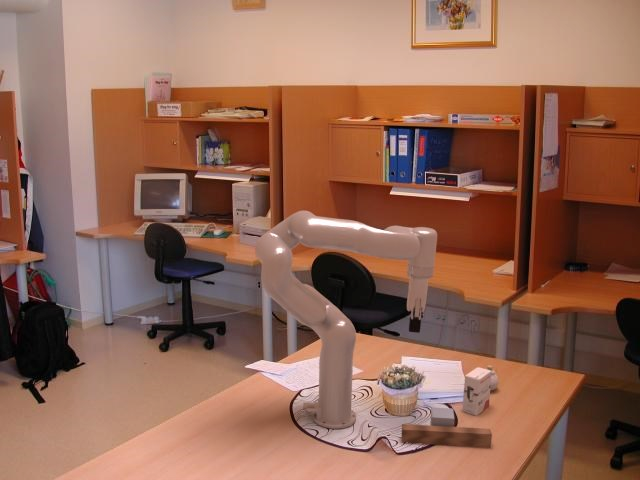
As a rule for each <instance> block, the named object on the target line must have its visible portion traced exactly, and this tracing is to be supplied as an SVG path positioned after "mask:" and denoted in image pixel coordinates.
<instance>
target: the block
mask: <svg viewBox="0 0 640 480" xmlns="http://www.w3.org/2000/svg"><path fill="white" fill-rule="evenodd" d="M430 411H431V412H430V425H429V426H447V427H455V412H454V408H451V407H450V408H449V407H434V406H433V407H431V408H430Z"/></svg>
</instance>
